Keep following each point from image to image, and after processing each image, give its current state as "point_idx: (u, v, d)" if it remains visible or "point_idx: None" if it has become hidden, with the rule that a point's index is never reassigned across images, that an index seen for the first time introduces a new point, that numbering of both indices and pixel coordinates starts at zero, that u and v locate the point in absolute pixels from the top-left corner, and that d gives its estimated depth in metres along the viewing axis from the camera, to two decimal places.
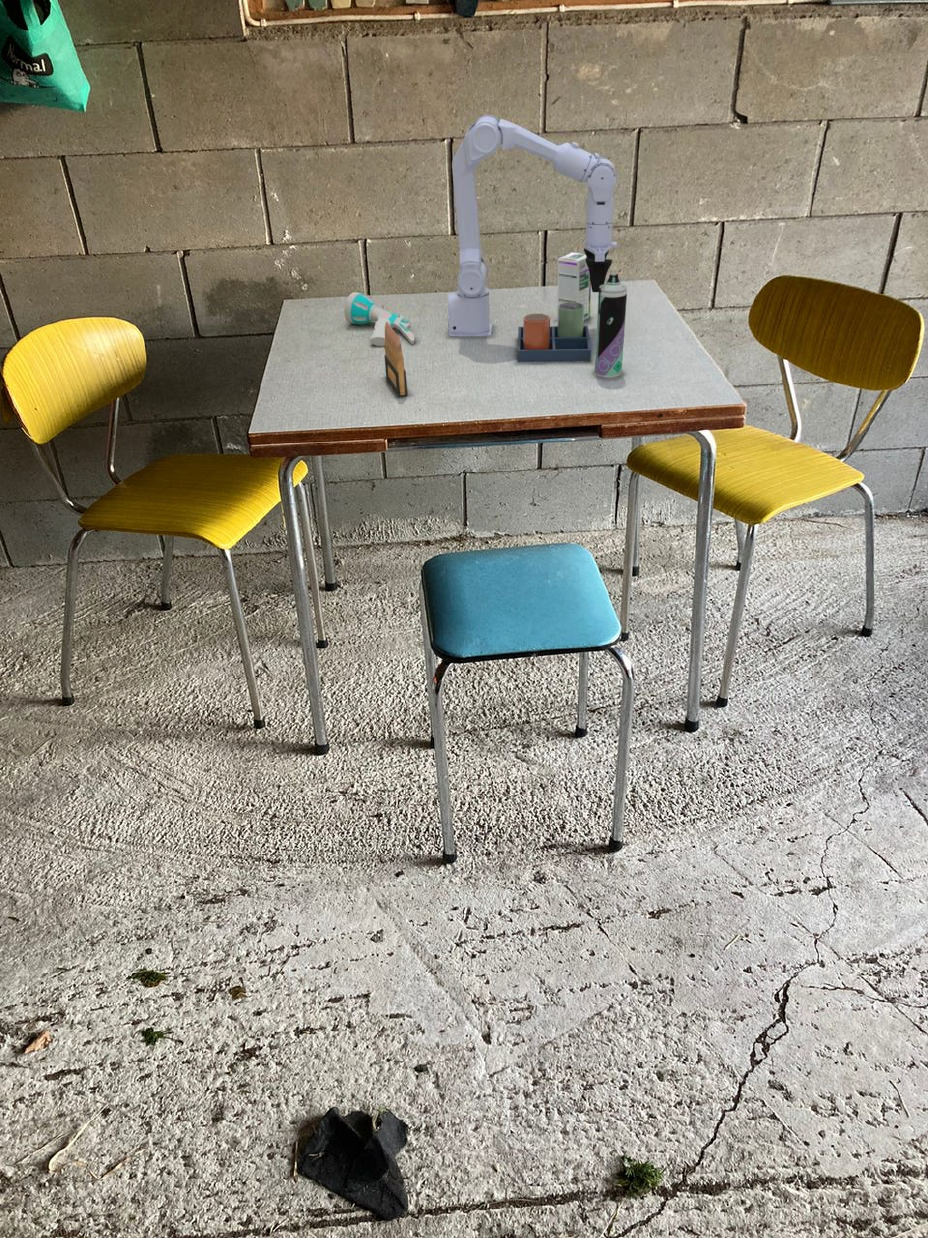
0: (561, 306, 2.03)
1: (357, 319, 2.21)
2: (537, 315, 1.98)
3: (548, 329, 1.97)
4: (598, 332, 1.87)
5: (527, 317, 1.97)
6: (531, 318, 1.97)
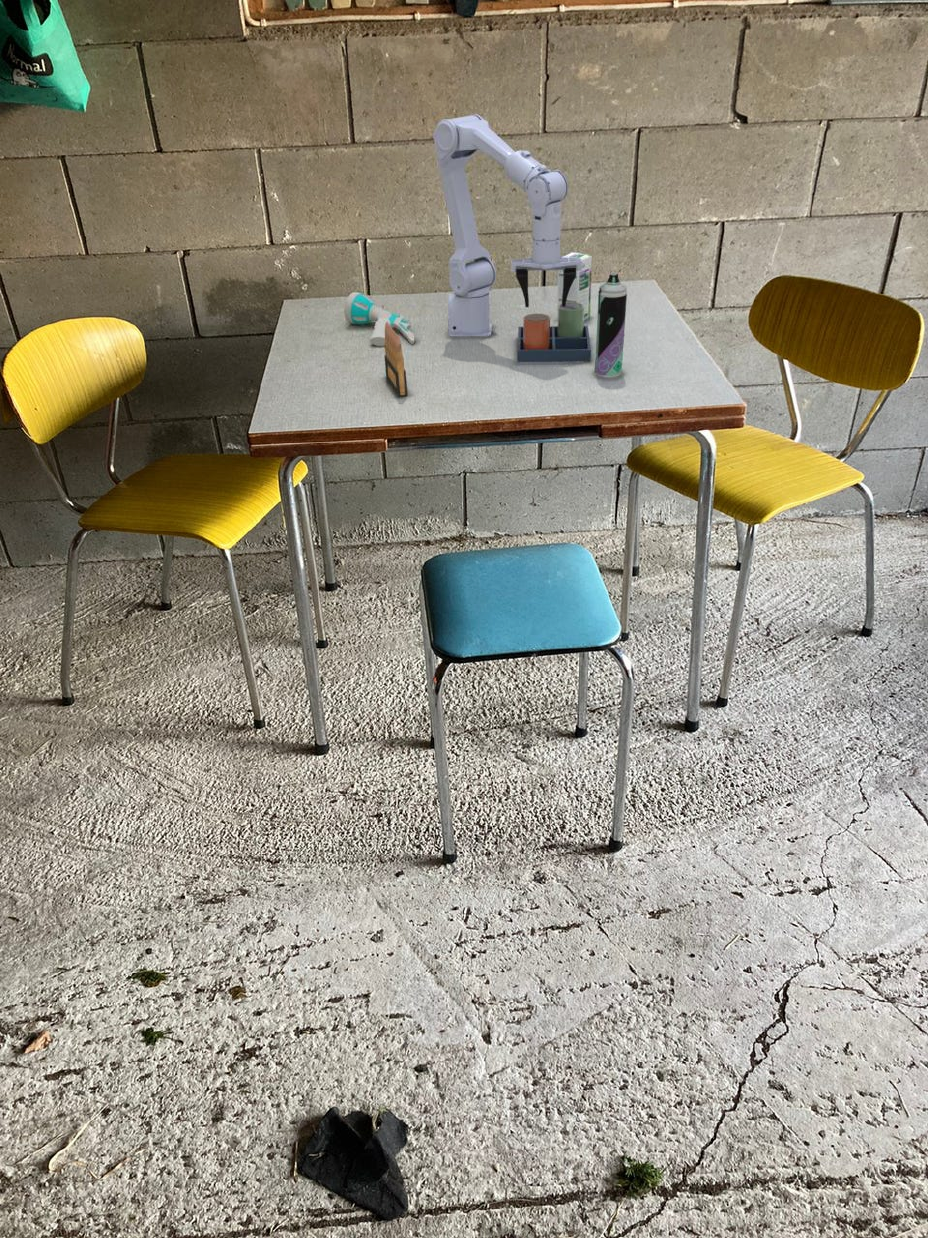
0: (561, 306, 2.03)
1: (357, 319, 2.21)
2: (537, 315, 1.98)
3: (548, 329, 1.97)
4: (598, 332, 1.87)
5: (527, 317, 1.97)
6: (531, 318, 1.97)
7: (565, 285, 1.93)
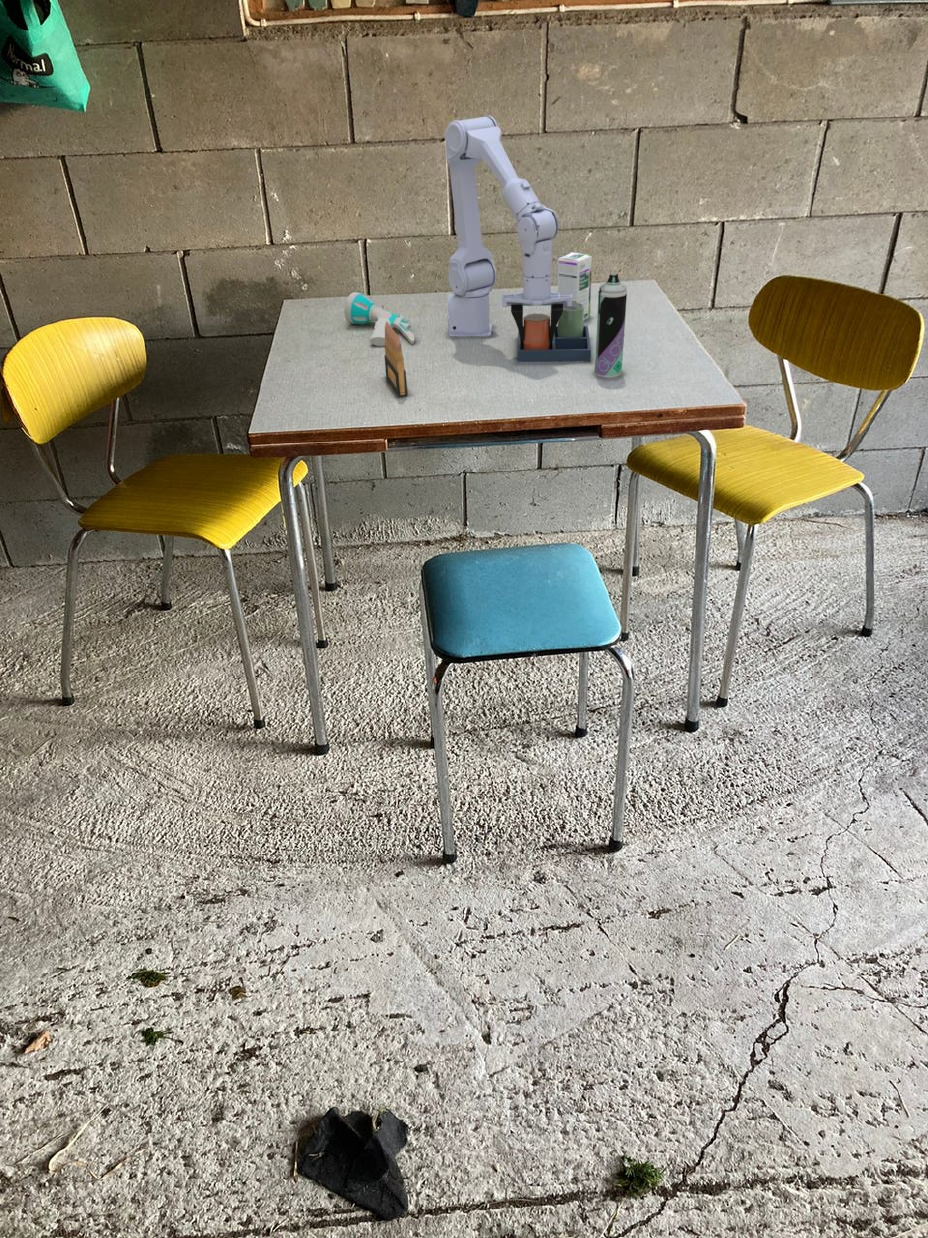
0: None
1: (357, 319, 2.21)
2: (537, 315, 1.98)
3: (548, 329, 1.97)
4: (598, 332, 1.87)
5: (527, 317, 1.97)
6: (531, 318, 1.97)
7: (552, 320, 1.96)
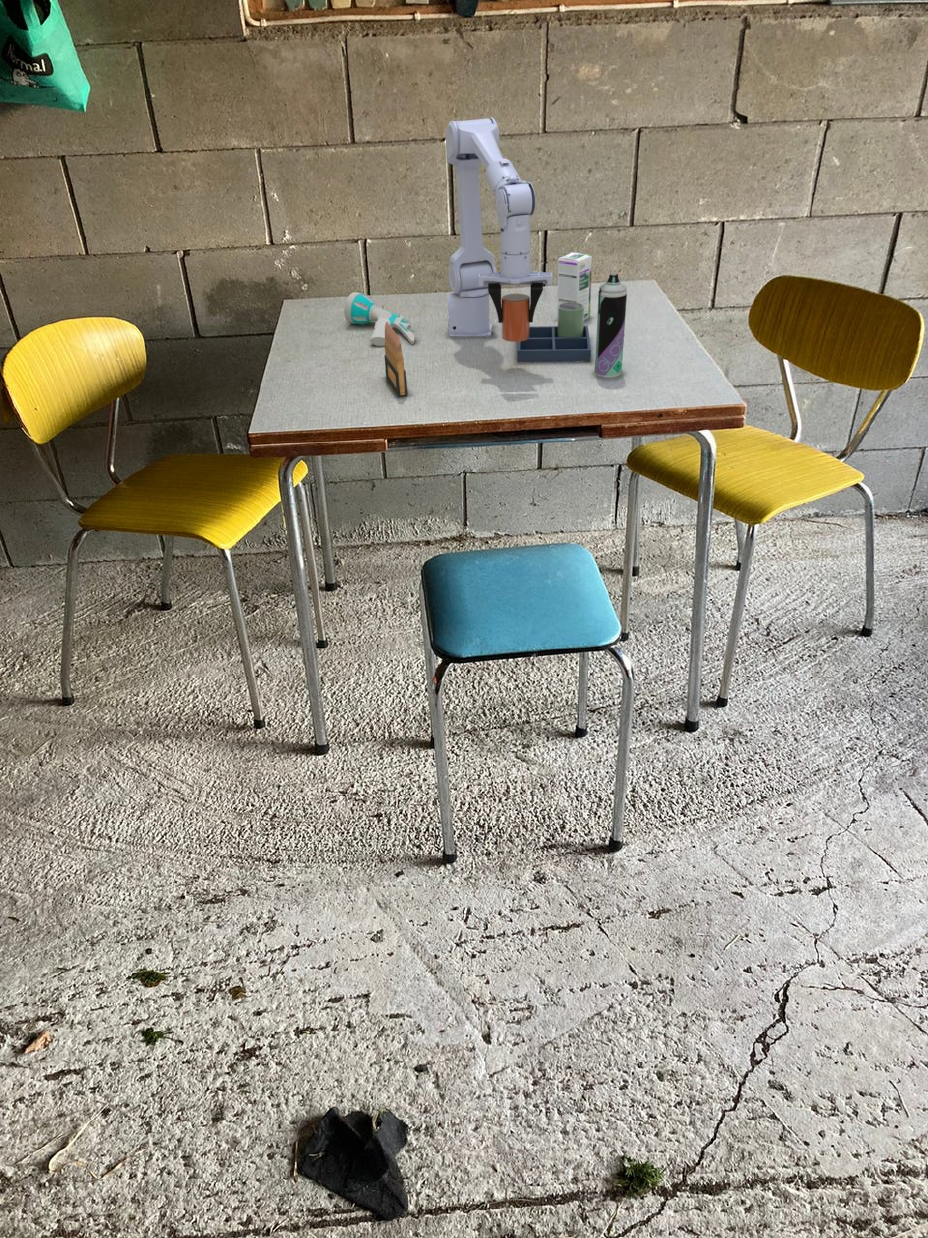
0: (561, 306, 2.03)
1: (357, 319, 2.21)
2: (516, 295, 1.89)
3: (528, 309, 1.88)
4: (598, 332, 1.87)
5: (505, 297, 1.88)
6: (510, 298, 1.87)
7: (531, 300, 1.86)
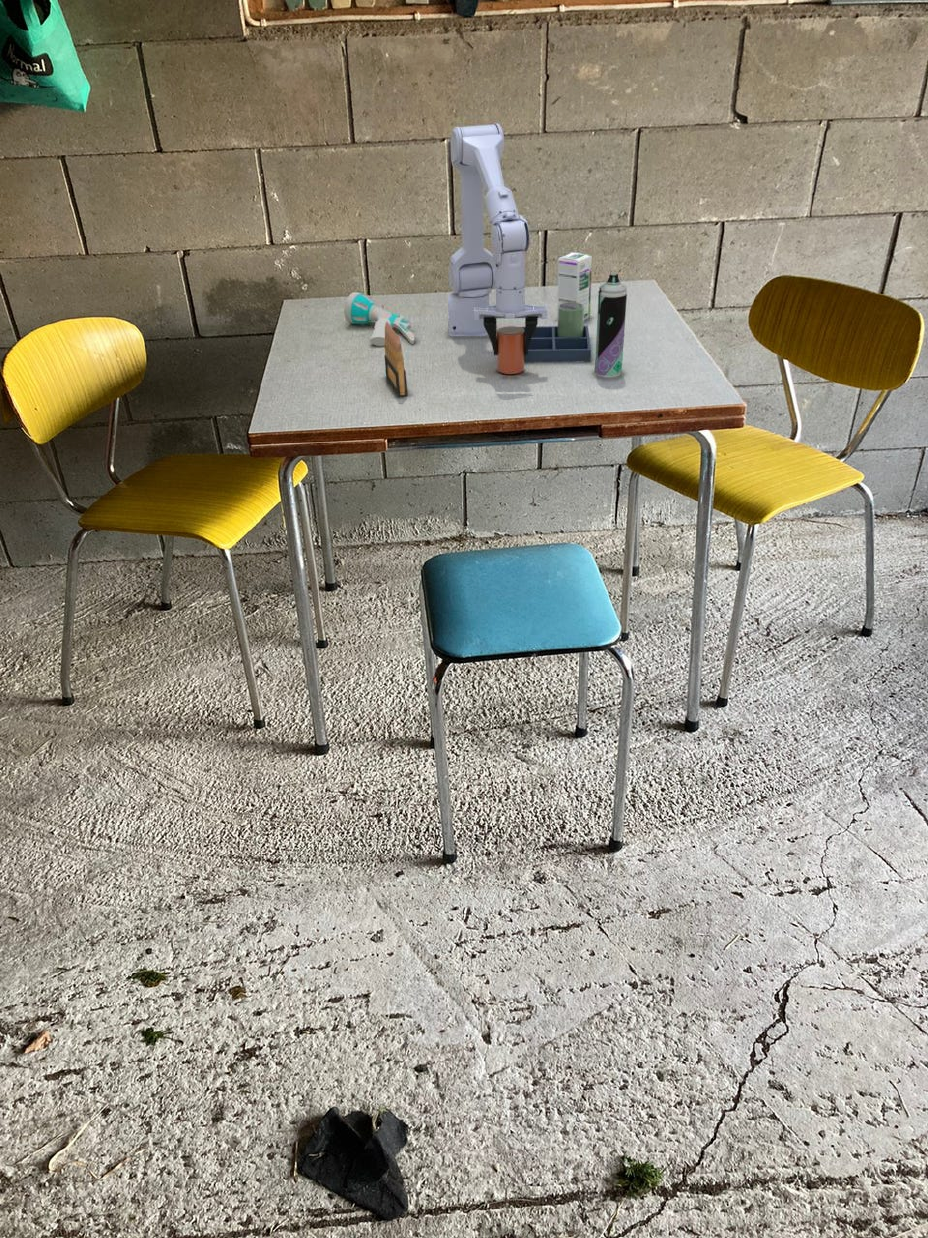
0: (561, 306, 2.03)
1: (357, 319, 2.21)
2: (511, 328, 1.91)
3: (522, 342, 1.90)
4: (598, 332, 1.87)
5: (501, 330, 1.90)
6: (505, 331, 1.89)
7: (526, 334, 1.88)
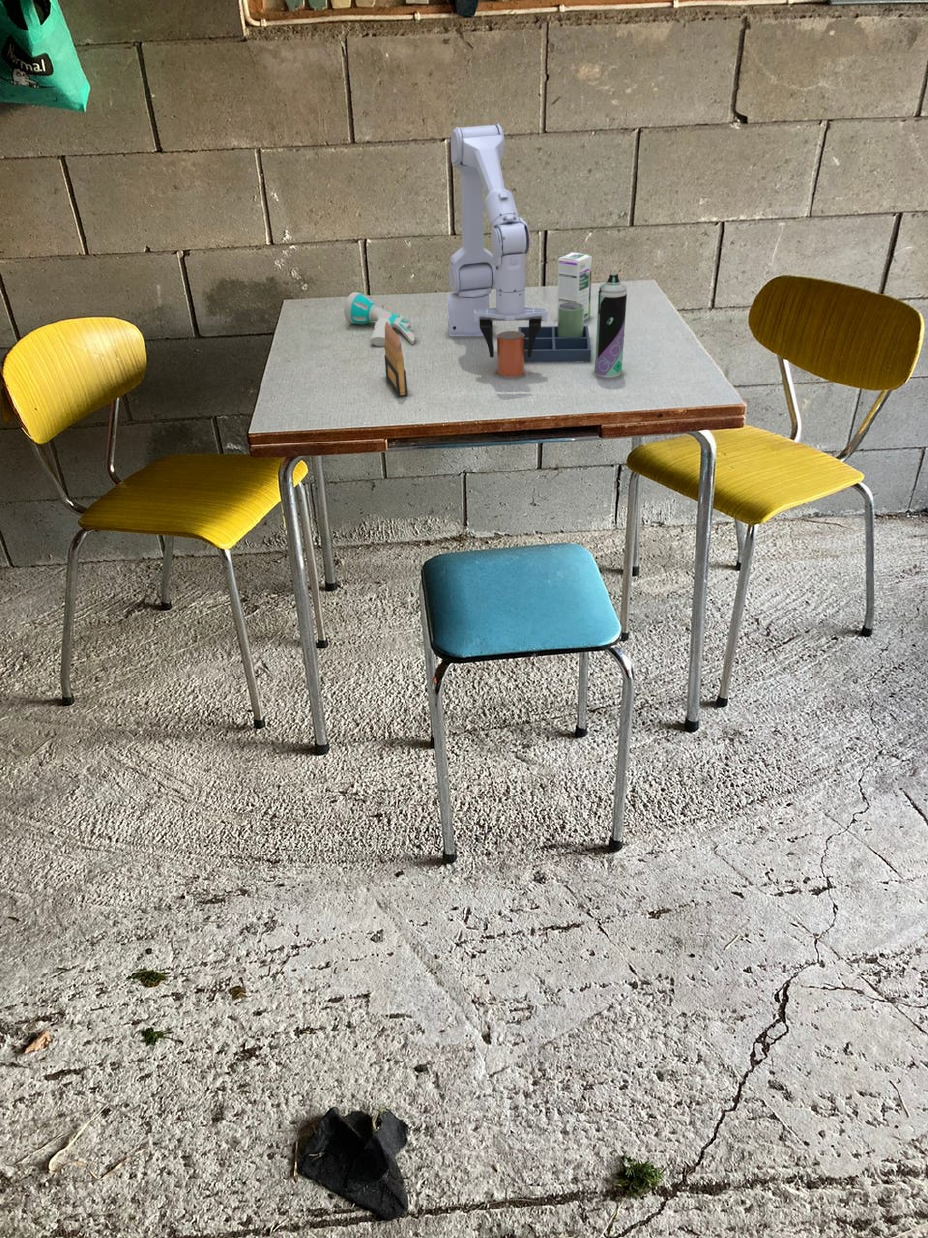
0: (561, 306, 2.03)
1: (357, 319, 2.21)
2: (511, 333, 1.91)
3: (522, 347, 1.90)
4: (598, 332, 1.87)
5: (501, 335, 1.90)
6: (505, 336, 1.90)
7: (530, 336, 1.88)
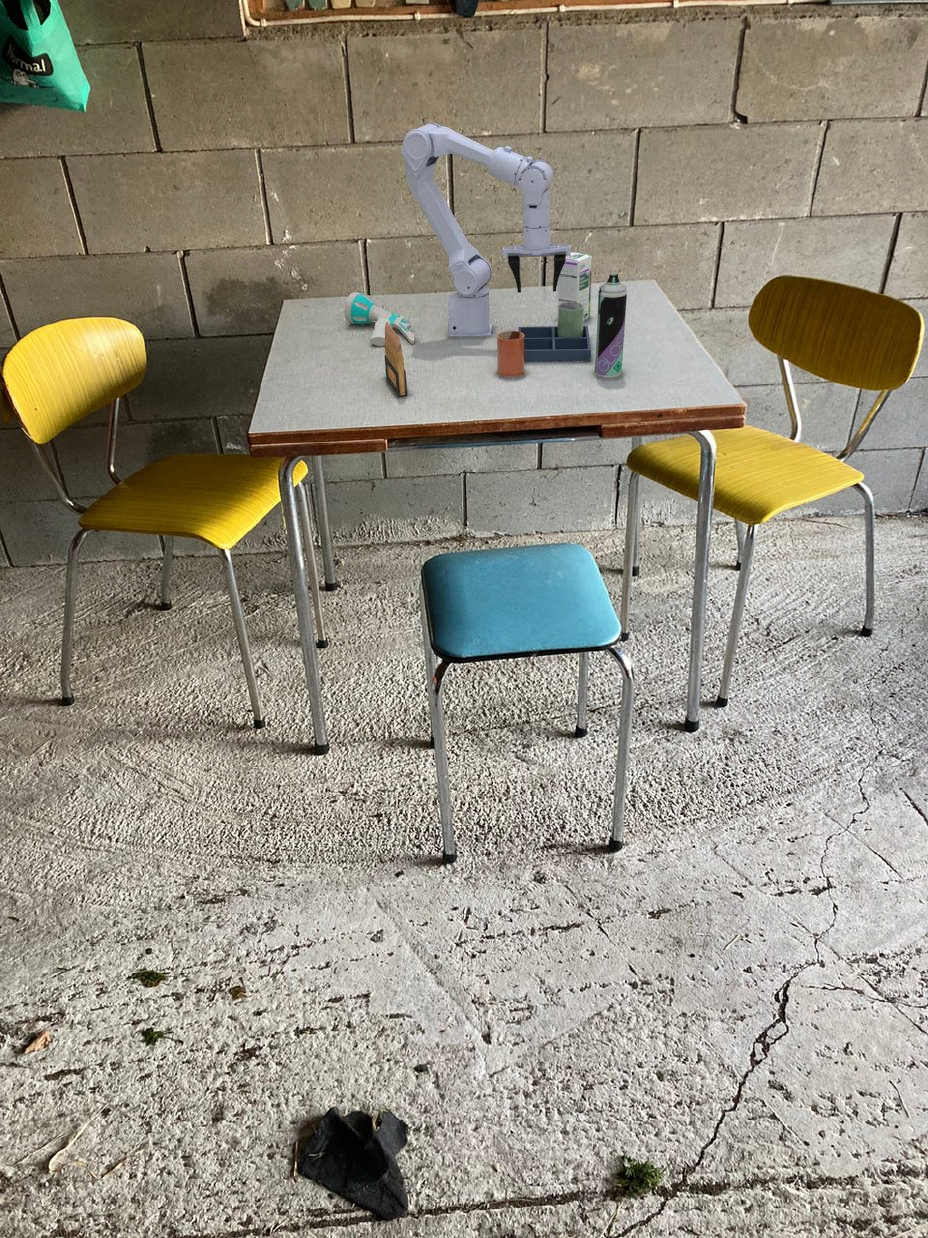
0: (561, 306, 2.03)
1: (357, 319, 2.21)
2: (511, 333, 1.91)
3: (522, 347, 1.90)
4: (598, 332, 1.87)
5: (501, 335, 1.90)
6: (505, 336, 1.90)
7: (555, 271, 2.02)
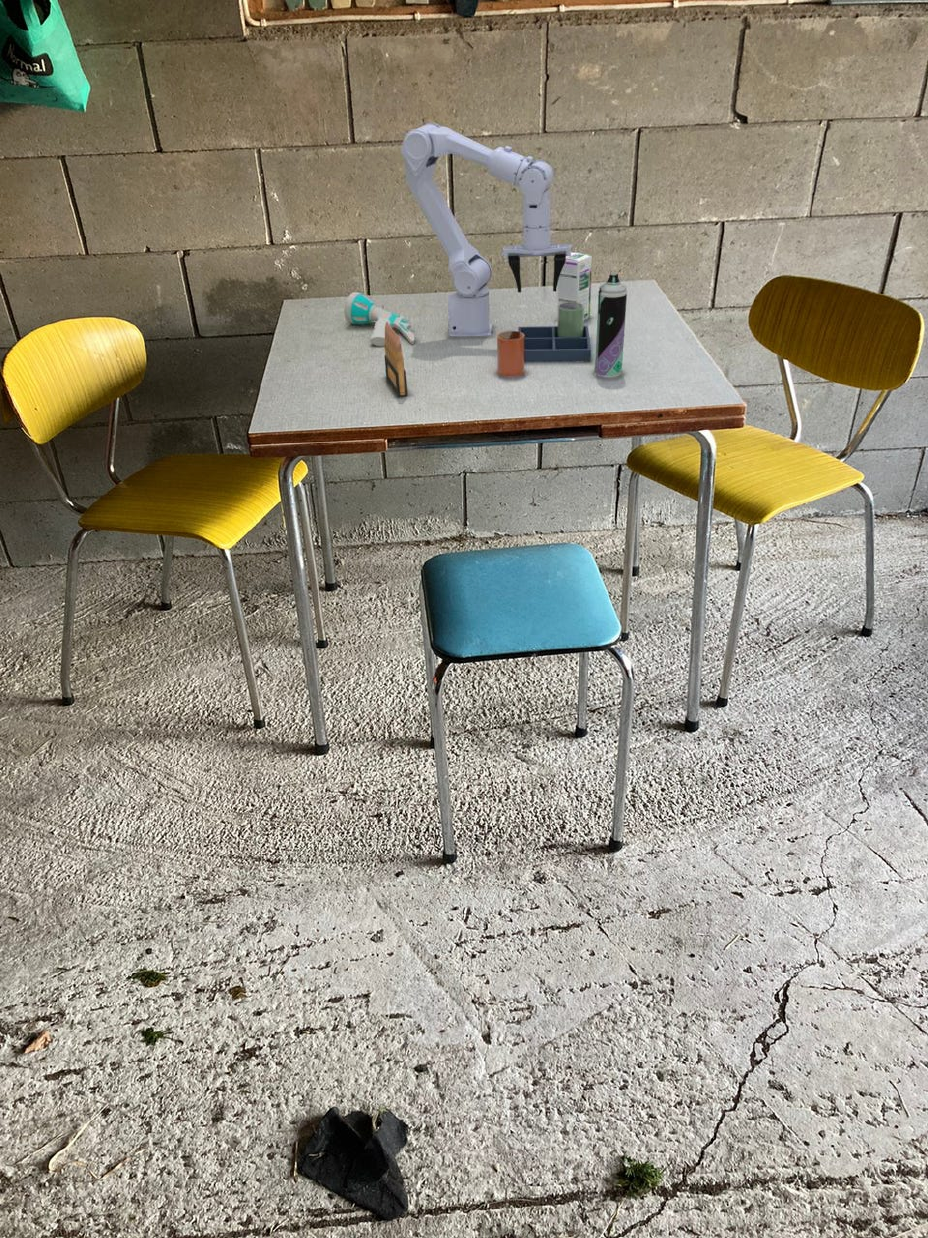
0: (561, 306, 2.03)
1: (357, 319, 2.21)
2: (511, 333, 1.91)
3: (522, 347, 1.90)
4: (598, 332, 1.87)
5: (501, 335, 1.90)
6: (505, 336, 1.90)
7: (555, 270, 2.02)
